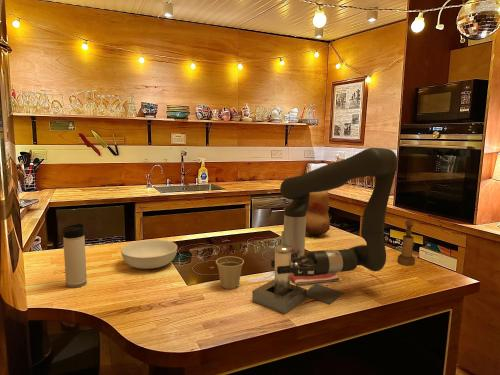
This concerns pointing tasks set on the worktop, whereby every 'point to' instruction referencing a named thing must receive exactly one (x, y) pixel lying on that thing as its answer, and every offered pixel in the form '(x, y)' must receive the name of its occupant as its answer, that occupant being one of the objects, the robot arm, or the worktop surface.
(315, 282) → the dish towel
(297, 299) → the bore block
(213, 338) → the worktop surface
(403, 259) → the pepper mill
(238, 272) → the flower pot
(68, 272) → the travel mug
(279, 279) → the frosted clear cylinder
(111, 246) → the worktop surface
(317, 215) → the butternut squash
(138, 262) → the serving bowl
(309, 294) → the rubber mat
